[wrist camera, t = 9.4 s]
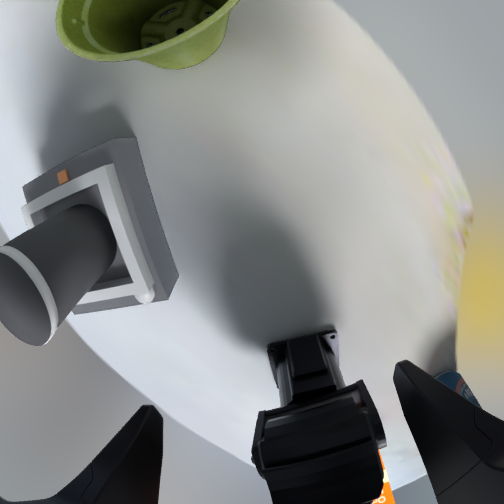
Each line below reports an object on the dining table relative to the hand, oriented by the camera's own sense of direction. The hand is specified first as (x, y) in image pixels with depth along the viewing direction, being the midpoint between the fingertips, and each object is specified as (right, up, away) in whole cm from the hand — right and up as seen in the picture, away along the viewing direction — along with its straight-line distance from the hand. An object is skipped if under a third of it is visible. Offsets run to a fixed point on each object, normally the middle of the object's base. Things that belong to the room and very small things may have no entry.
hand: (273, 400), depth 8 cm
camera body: (-12, +7, +11) cm, 18 cm away
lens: (-12, +6, +8) cm, 15 cm away
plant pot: (-5, +20, +6) cm, 22 cm away
